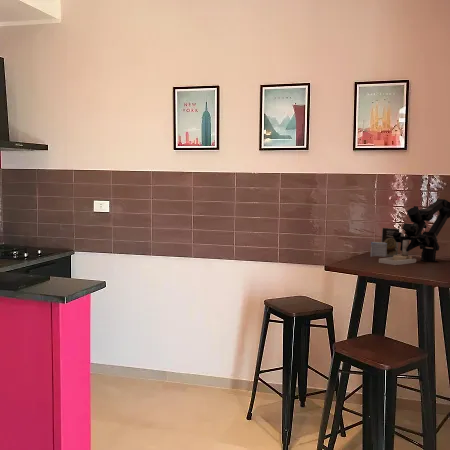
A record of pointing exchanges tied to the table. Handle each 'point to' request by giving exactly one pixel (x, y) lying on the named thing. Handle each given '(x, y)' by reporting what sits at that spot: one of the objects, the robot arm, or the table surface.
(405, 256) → the handle block
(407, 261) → the shelf lane
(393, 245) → the coffee box
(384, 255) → the medicine box
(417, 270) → the table surface
